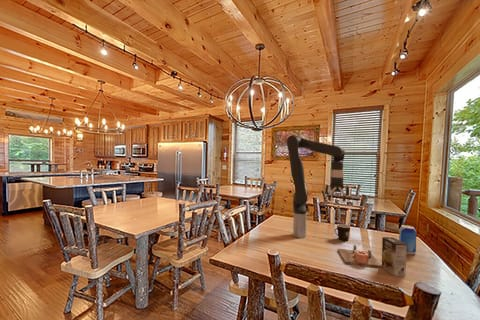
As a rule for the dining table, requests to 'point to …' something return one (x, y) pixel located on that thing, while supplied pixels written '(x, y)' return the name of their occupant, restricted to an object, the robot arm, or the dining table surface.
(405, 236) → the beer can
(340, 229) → the coffee mug
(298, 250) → the dining table surface
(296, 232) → the robot arm
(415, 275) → the dining table surface
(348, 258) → the carrier
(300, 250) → the dining table surface
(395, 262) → the coffee box
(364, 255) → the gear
